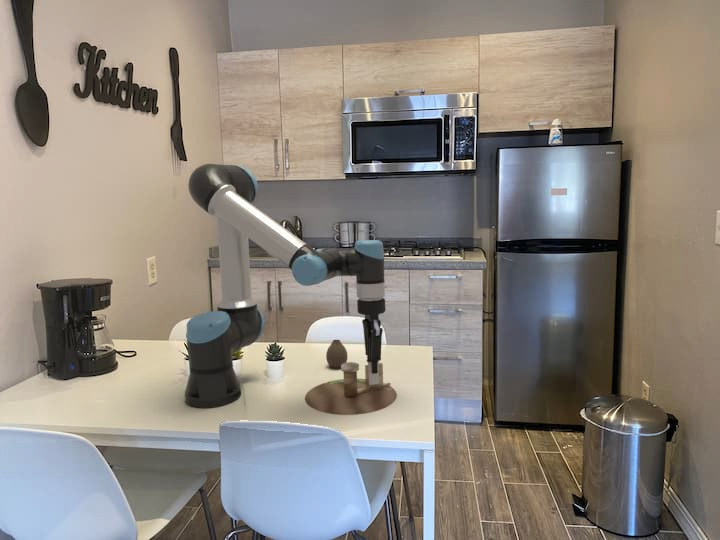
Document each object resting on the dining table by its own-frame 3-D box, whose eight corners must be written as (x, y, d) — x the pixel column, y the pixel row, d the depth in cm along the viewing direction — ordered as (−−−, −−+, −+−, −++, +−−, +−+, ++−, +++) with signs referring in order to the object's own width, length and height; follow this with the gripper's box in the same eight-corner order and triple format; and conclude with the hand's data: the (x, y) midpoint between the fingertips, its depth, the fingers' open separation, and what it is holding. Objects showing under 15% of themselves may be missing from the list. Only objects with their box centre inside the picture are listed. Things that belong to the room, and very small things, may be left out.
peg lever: (347, 399, 133) (346, 369, 132) (339, 393, 138) (338, 364, 136) (394, 387, 140) (394, 359, 139) (385, 382, 145) (384, 354, 143)
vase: (347, 369, 161) (346, 343, 160) (325, 370, 161) (324, 343, 160) (348, 362, 168) (347, 337, 166) (327, 363, 168) (326, 337, 166)
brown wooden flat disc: (314, 425, 121) (314, 420, 121) (298, 389, 145) (297, 384, 145) (411, 410, 128) (410, 405, 128) (379, 378, 152) (379, 374, 152)
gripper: (391, 301, 128) (393, 390, 131) (378, 293, 141) (381, 375, 143) (362, 303, 127) (365, 393, 129) (352, 295, 139) (355, 377, 142)
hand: (373, 383), depth 136 cm, fingers closed
